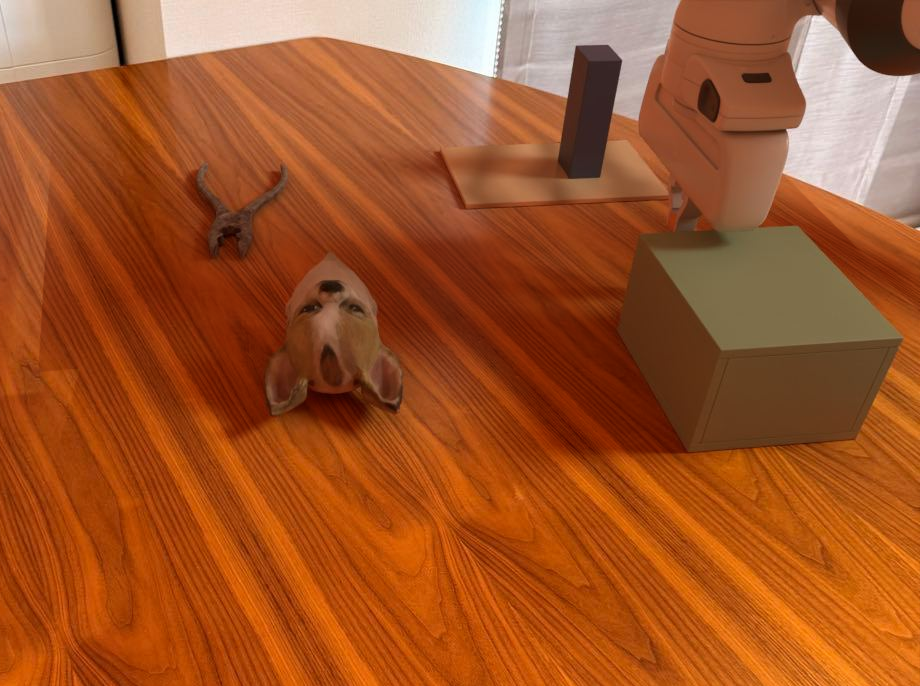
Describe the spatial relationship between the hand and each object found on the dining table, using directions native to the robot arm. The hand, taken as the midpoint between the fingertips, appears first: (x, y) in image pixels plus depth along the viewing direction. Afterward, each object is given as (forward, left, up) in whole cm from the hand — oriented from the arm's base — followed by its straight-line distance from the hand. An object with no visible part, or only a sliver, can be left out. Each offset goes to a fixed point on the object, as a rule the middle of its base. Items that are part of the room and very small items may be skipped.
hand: (679, 230), depth 86 cm
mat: (+4, -24, -6) cm, 25 cm away
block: (+1, -24, -5) cm, 25 cm away
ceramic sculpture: (+32, +11, -6) cm, 34 cm away
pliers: (+37, -19, -6) cm, 42 cm away
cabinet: (0, +15, -6) cm, 16 cm away
